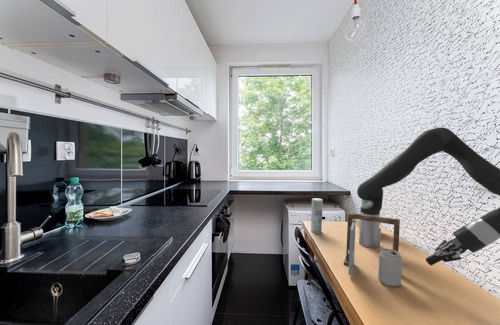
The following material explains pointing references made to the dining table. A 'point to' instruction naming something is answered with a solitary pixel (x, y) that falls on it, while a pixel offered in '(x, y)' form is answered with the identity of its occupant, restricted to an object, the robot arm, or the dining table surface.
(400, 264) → the can
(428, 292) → the dining table surface
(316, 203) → the spray can
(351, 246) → the door
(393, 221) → the door frame
